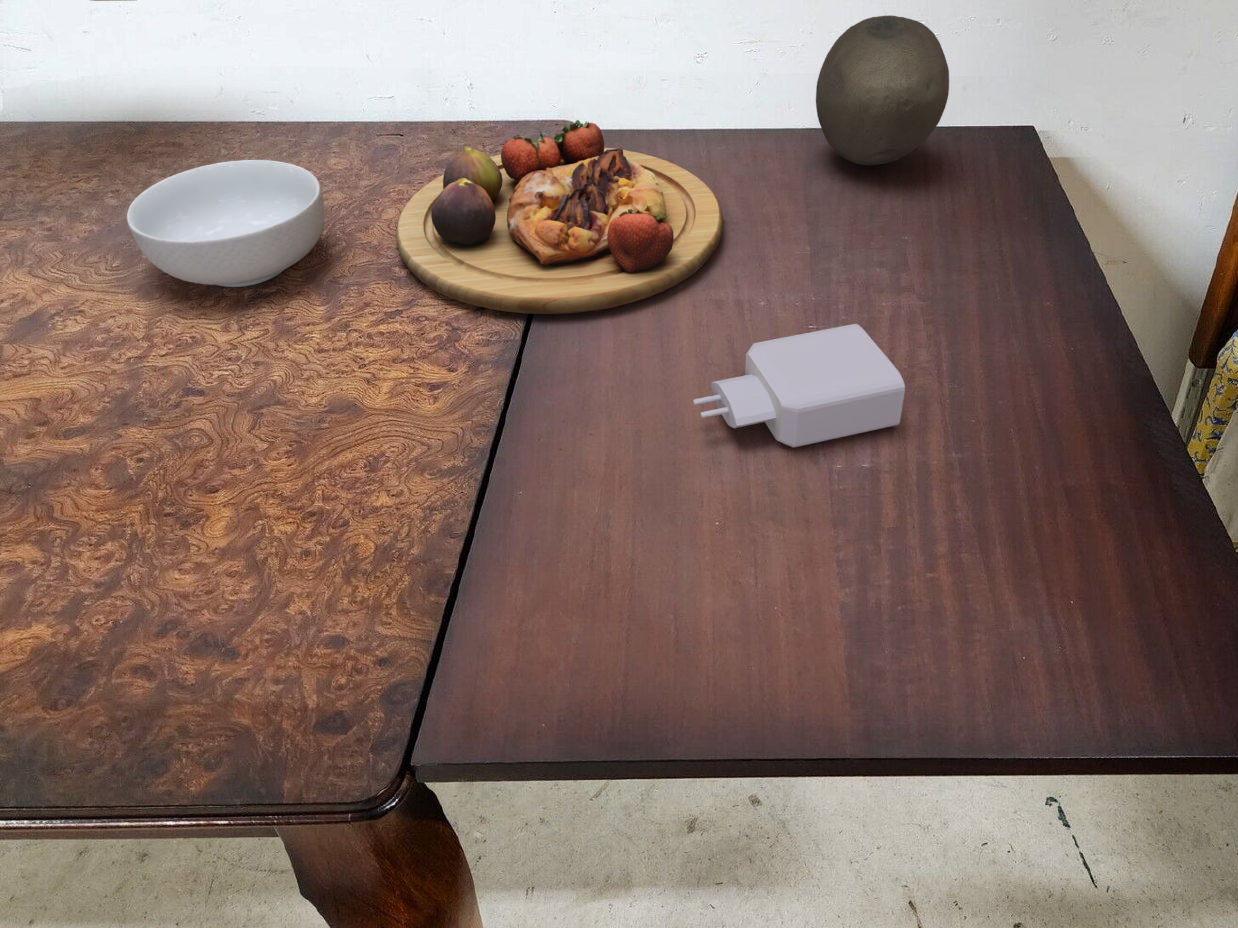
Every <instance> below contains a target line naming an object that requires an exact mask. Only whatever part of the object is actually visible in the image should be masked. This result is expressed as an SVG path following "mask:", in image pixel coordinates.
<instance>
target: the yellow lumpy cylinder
mask: <svg viewBox="0 0 1238 928" xmlns="http://www.w3.org/2000/svg"><path fill="white" fill-rule="evenodd" d="M90 1H92V2H113V1H114V2H119V1H120V2H121V1H124V2H125V1H126V2H127V1H130V2H131V1H133V2H134V1H136V0H90Z"/></svg>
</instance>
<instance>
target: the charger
mask: <svg viewBox="0 0 1238 928" xmlns="http://www.w3.org/2000/svg"><path fill="white" fill-rule="evenodd" d="M744 368H745V369H744V375H741V376H740V375H739V376H735V377H729V378H725V379H719V380H716V381H712V382H711V383H710V386H711V391H712V394H713V395H708V396H703V397H699V398H694V399H693V400H692V404H693V405H694V406H699V405H704V404H708V403H714V402H715V403H716V406H717V408H715V409H710V410H705V411H701V412H700V417H701V418H702V419H706V418H711V417H715V416H720V415H721V416H722V418H723V419H724V420H725V422H726V424H727V425H728V426H729V427H730V428H733V429H737V428H742V427H747V426H752V425H756V424H761V423H765V425H766V426H767V428H768V430H769V431H770V432H771V434H772V436H773V437H774V439H775V440H776V441H777V442H779V443H782V444H784V445H786V446H789V447H791V448H797V447H798V448H799V447H802V446H807V445H812V444H817V443H821V442H825V441H829V440H834V439H839V438H843V437H844V438H845V437H848V436H854V435H857V434H862V433H867V432H871V431H875V430H876V431H877V430H881V429H886V428H890V427H895V426H898V425H900V422H901V418H902V413H903V412H902V411H903V405H904V400H905V393H906V385H905V381H904V379H903V377H902V375H901V373H900V371H899V370H898V369H897V367H896V366H895V365H894V363H893V362H892V361H891V360H890V359H889V358H888V357H887V355H886V354H885V353H884V352H883V351H882V349H881V348H880V347H879V346H878V344H877V343H876V342H875V341H874V340H873V339H872V337H870V335H869V334H868V333H867V332H866V331H865V329H864V328H863V327H862V326H860V324H858V323H853V324H846V325H843V326H836V327H832V328H826V329H821V330H815V331H811V332H805V333H801V334H796V335H795V334H794V335H790V336H785V337H780V338H774V339H769V340H764V341H759V342H758V341H757V342H754V343H752V344H751V346H750V348H749V349H748V351H747V352H746V353H745V366H744Z"/></svg>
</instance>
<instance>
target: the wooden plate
mask: <svg viewBox="0 0 1238 928" xmlns="http://www.w3.org/2000/svg"><path fill="white" fill-rule="evenodd" d="M539 133H540V134H539V135H538V136H537V137H536V138H535V139H534V140H533V141H534V142H533V141H532V138H531V137H528V136H524V138H523V137H521V136H520V134H519V133H517V134H515V135H514V136H513V137H512V139H509V140H506V141H505V142H504V143H500V144H499V146H502V148H501V153H500V154H496V155H491V156H490V155H488V154H487V153H485V152H483V151H481V150H477V149H474V148H473V147H471V146H469V145H467V146H465V147H464V149H462V150H461V151H459V152H458V153H456V155H455V156H453V158H452V159H451V160H450V161H449V162H448V164H447V165H446V166H445V170H444V173H443V174H441V175H440V176H438V177H436V178H435V179H433V180H432V181H430V182H428V183H427V184H425V185H424V186H423V187H421V188H420V189H419V190H418V191H417V192H416V193H415V194H414V195H413V196H412V197H411V198H410V199H409V200H408V202H407V203H406V205H404V207H403V209H402V211H401V213H400V214H399V217H398V220H397V222H396V227H395V228H396V229H395V240H396V246H397V249H398V254H399V256H400V258H401V260H402V261H403V263H404V265H405V266H406V268H407V269H408V270H409V271H410V272H411V273H412V274H413V275H414V276H415V277H416V278H417V280H419V281H420V282H422V283H424V284H425V285H426V286H427V287H429V288H430V289H432V290H434V291H435V292H438V293H440V294H441V295H443V296H445V297H448V298H450V299H452V300H456V301H458V302H461V303H465V304H468V305H472V306H476V307H481V308H483V309H484V308H485V309H489V310H495V311H499V312H509V313H518V314H529V315H532V314H533V315H562V314H575V313H585V312H593V311H601V310H606V309H611V308H616V307H620V306H623V305H627V304H631V303H635V302H638V301H641V300H644V299H647V298H651V297H653V296H654V295H657V294H660V293H662V292H664V291H666V290H669V289H671V288H673V287H674V286H676V285H678V284H679V283H682V282H683V281H685V280H687V279H688V278H689V277H691V276H692V275H693V274H695V273H696V272H697V271H698V270H699V269H700V268H702V267H703V265H704V264H705V263H706V262H707V261H708V260H709V259H710V258H711V257H712V256H713V254H714V252H715V250H717V247H718V246H719V244H720V241H721V239H722V235H723V228H724V218H723V210H722V207H721V204H720V202H719V200H718V198H717V196H716V195H715V194H714V192H713V191H712V190H711V188H710V187H709V186H708V185H707V184H705V182H704V181H703V180H702V179H700V178H699V177H697V176H696V175H694V174H692V172H689V171H688V170H687V169H685V168H683V167H681V166H679V165H677V164H675V163H672V162H671V161H668V160H665V159H662V158H659V157H655V156H652V155H649V154H645V153H642V152H637V151H632V150H626V149H623V148H614V147H605V139H604V135H603V132H602V130H601V128H600V127H599V126H598V125H597V124H596V123H594V122H589V121H587V120H586V121H585V122H584V123H581V121H580V120H579V119H577V120H575V122H574V123H569V127H568V126H567V125H565V126H563V127H562V129H561V133H556V134H555V136H554V137H553V139H552V138H551V137H544V136H543V133H542V132H541V131H539Z"/></svg>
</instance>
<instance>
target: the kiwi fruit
mask: <svg viewBox="0 0 1238 928" xmlns="http://www.w3.org/2000/svg"><path fill="white" fill-rule="evenodd" d="M815 88H816V89H815V109H816V115H817V120H818V122H819V126H820V128H821V130H822V133H823V136H824V139H825V140H826V141H827V143H828V144H829V146H830V147H831V149H832V150H833V151H834V152H835V153H836V154H838V155H839V156H840V157H842V158H843V159H845V160H847V161H849V162H851V163H853V164H857V165H860V166H880V165H885V164H888V163H893V162H896V161H898V160H900V159H902V158H904V157H905V156H907V155H909V154H910V153H911V152H913V151H914V150H916V149H917V148H919V147H920V146H921V145H922V144H923V143H924V142H926V140H927V139H928V138H929V137H930V136H931V135H932V133H933V132H934V130H935V129H936V128H937V126H938V125H939V123H940V121H941V120H942V119H941V118H942V117H943V114H944V112H945V110H946V106H947V103H948V99H949V93H950V69H949V65H948V62H947V58H946V55H945V53H944V49H943V47H942V45H941V43H940V40H939V38H937V36H936V34H935V33H934V32H933V31H932V30H931V29H930V28H929V27H928V26H926V25H925V24H924V23H922V22H920V21H918V20H915V19H912V18H910V17H909V18H907V17H904V16H897V15H892V14H891V15H877V16H872V17H868V18H865V19H863V20H861V21H858V22H857V23H854V25H851V26H849V27H848V28H847V29H846V30H845V31H843V33H842V34H840V36H839V37H838V38H837V39H836V40H835V41H834V43H833V45H832V46H831V47H830V49H829V51H828V52H827V54H826V56H825V57H824V61H823V62H822V65H821V67H820V71H819V74H818V77H817V82H816V87H815Z"/></svg>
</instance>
